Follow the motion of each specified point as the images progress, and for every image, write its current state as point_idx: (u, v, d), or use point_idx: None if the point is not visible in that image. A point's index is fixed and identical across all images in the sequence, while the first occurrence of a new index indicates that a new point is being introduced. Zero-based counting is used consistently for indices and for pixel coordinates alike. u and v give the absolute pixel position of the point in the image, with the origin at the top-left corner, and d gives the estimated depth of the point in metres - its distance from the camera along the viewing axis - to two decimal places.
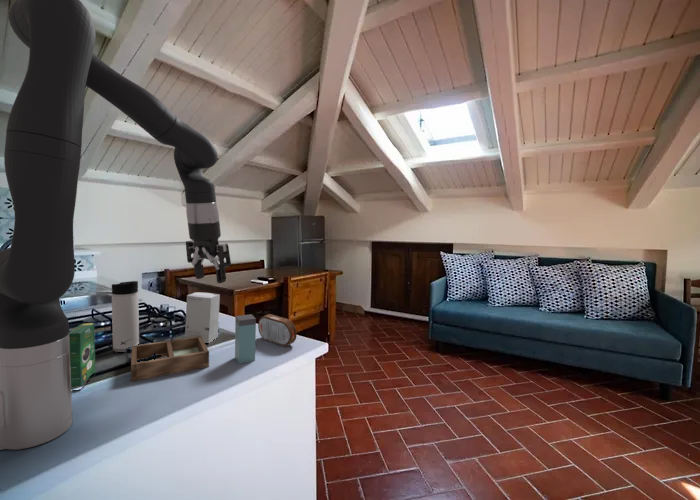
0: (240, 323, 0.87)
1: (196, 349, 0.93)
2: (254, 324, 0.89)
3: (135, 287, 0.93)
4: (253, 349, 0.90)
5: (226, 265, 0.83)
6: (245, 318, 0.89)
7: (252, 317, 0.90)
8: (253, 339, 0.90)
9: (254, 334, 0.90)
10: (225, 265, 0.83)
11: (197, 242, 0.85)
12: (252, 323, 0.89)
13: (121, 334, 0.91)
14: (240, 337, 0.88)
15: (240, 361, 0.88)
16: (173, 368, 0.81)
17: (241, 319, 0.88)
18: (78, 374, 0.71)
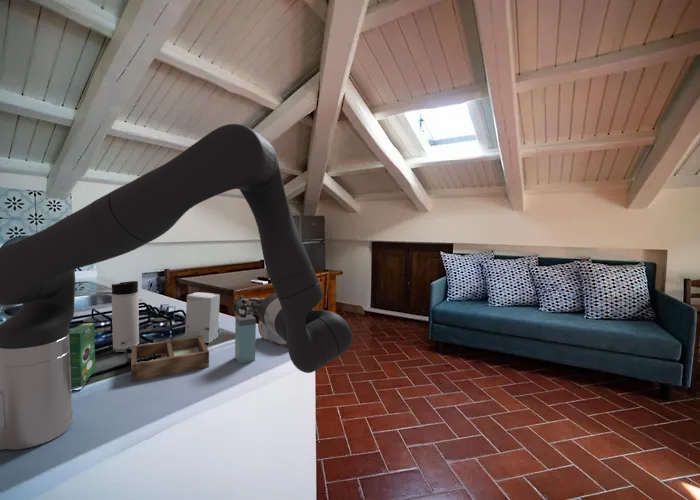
0: (240, 323, 0.87)
1: (196, 349, 0.93)
2: (254, 324, 0.89)
3: (135, 287, 0.93)
4: (253, 349, 0.90)
5: (234, 305, 0.72)
6: (245, 318, 0.89)
7: (252, 317, 0.90)
8: (253, 339, 0.90)
9: (254, 334, 0.90)
10: None
11: None
12: (252, 323, 0.89)
13: (121, 334, 0.91)
14: (240, 337, 0.88)
15: (240, 361, 0.88)
16: (173, 368, 0.81)
17: (241, 319, 0.88)
18: (78, 374, 0.71)
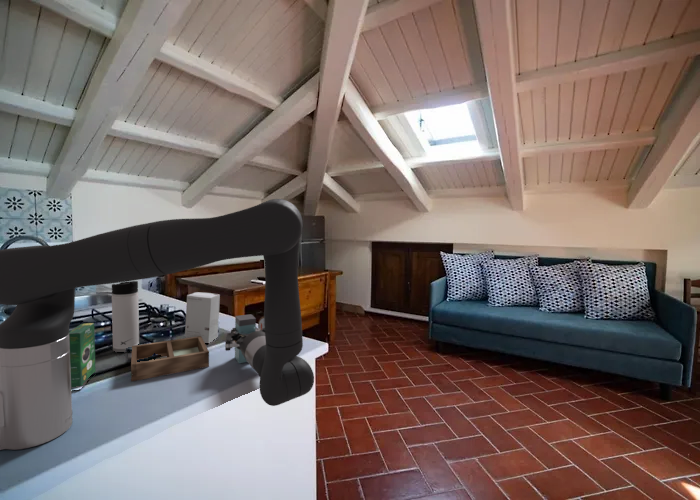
0: (240, 323, 0.87)
1: (196, 349, 0.93)
2: (254, 324, 0.89)
3: (135, 287, 0.93)
4: None
5: None
6: (245, 318, 0.89)
7: (252, 317, 0.90)
8: None
9: None
10: None
11: None
12: (252, 323, 0.89)
13: (121, 334, 0.91)
14: None
15: (240, 361, 0.88)
16: (173, 368, 0.81)
17: (241, 319, 0.88)
18: (78, 374, 0.71)
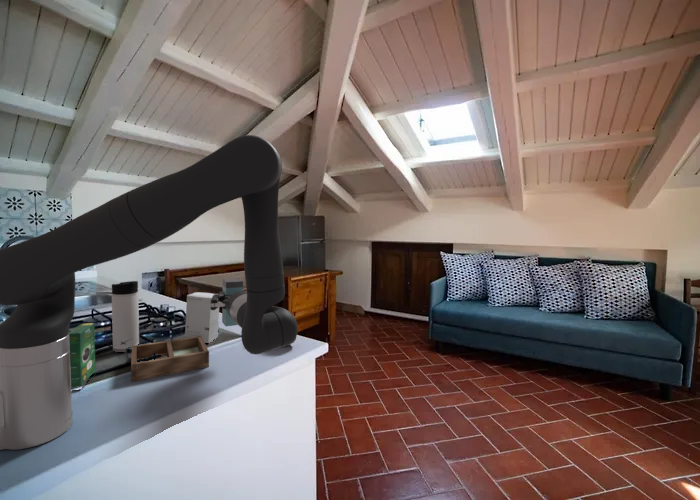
0: (227, 285, 0.86)
1: (196, 349, 0.93)
2: (241, 287, 0.88)
3: (135, 287, 0.93)
4: None
5: None
6: (232, 281, 0.88)
7: (239, 280, 0.89)
8: None
9: None
10: None
11: None
12: (239, 286, 0.88)
13: (121, 334, 0.91)
14: None
15: (227, 324, 0.87)
16: (173, 368, 0.81)
17: (228, 281, 0.87)
18: (78, 374, 0.71)
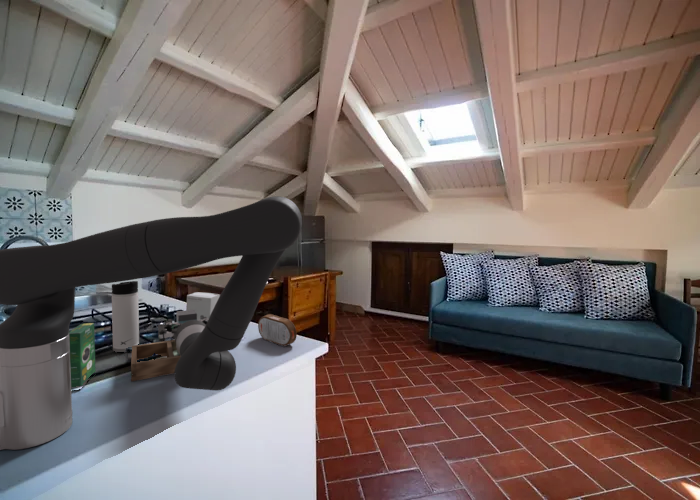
0: (179, 318, 0.85)
1: None
2: (195, 319, 0.87)
3: (135, 287, 0.93)
4: None
5: None
6: (185, 313, 0.87)
7: (193, 312, 0.88)
8: None
9: None
10: None
11: None
12: (193, 318, 0.87)
13: (121, 334, 0.91)
14: None
15: None
16: (173, 368, 0.81)
17: (181, 314, 0.86)
18: (78, 374, 0.71)
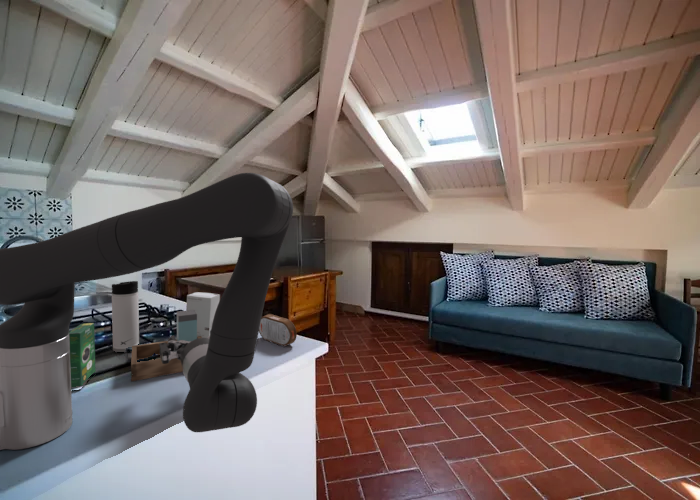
0: (179, 319, 0.85)
1: None
2: (195, 320, 0.87)
3: (135, 287, 0.93)
4: None
5: None
6: (185, 314, 0.86)
7: (193, 313, 0.88)
8: (194, 335, 0.87)
9: (195, 330, 0.87)
10: None
11: None
12: (193, 319, 0.86)
13: (121, 334, 0.91)
14: (180, 333, 0.85)
15: None
16: (173, 368, 0.81)
17: (181, 315, 0.85)
18: (78, 374, 0.71)
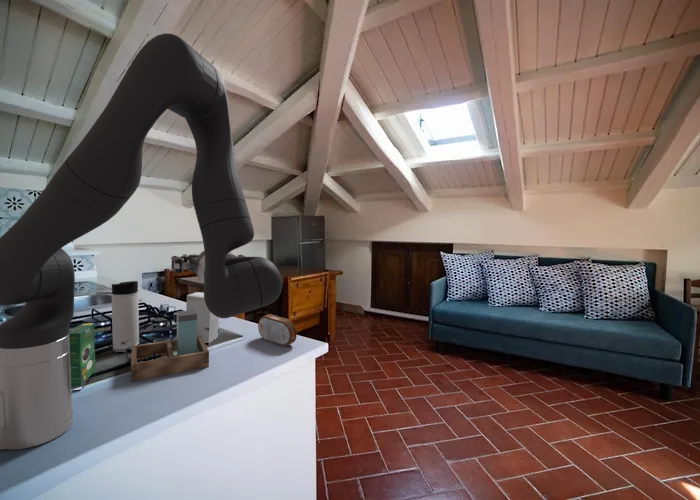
0: (179, 319, 0.85)
1: None
2: (195, 320, 0.87)
3: (135, 287, 0.93)
4: (194, 345, 0.87)
5: None
6: (185, 314, 0.86)
7: (193, 313, 0.88)
8: (194, 335, 0.87)
9: (195, 330, 0.87)
10: None
11: None
12: (193, 319, 0.86)
13: (121, 334, 0.91)
14: (180, 333, 0.85)
15: None
16: (173, 368, 0.81)
17: (181, 315, 0.85)
18: (78, 374, 0.71)
